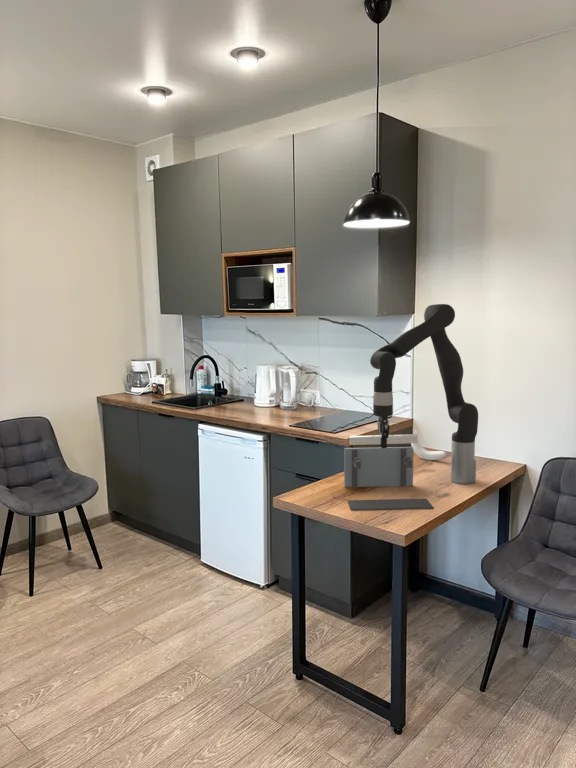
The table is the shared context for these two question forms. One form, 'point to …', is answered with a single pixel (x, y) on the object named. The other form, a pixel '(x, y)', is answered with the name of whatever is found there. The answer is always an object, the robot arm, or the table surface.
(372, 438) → the rail
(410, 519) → the table surface
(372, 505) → the mat
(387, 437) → the robot arm
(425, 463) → the table surface
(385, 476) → the rail stand
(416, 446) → the banana
